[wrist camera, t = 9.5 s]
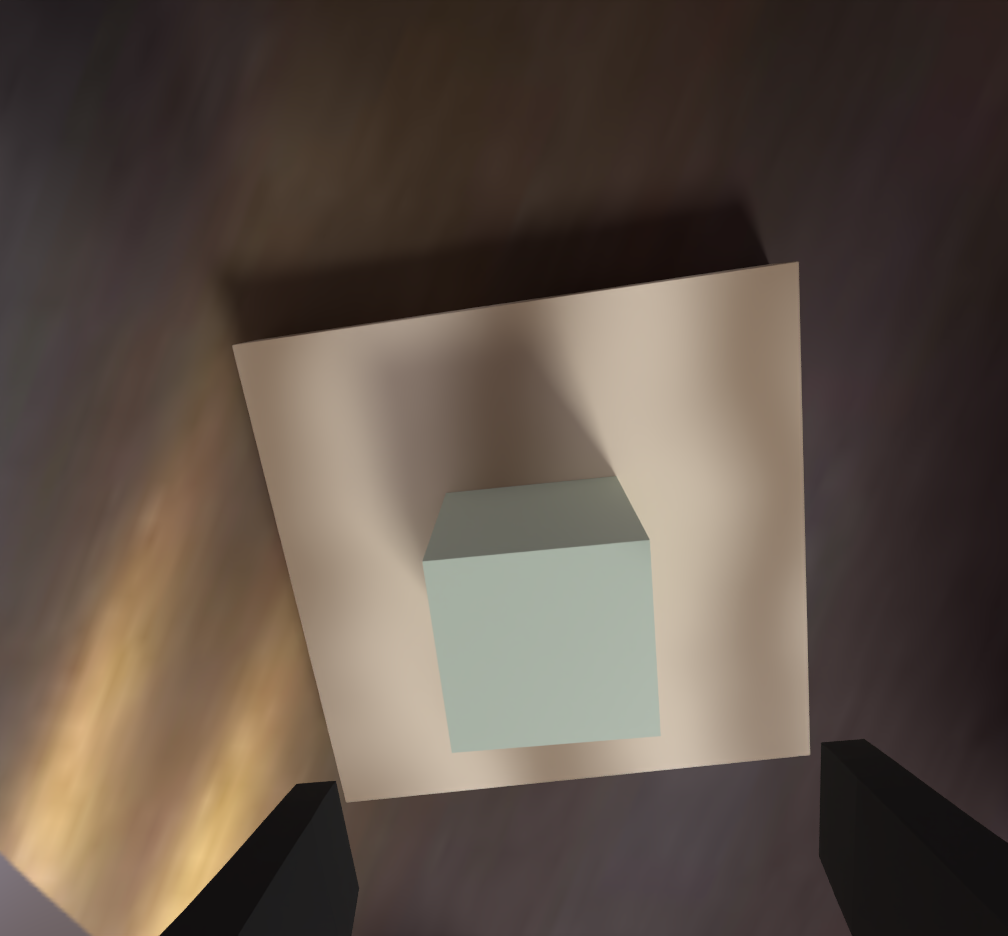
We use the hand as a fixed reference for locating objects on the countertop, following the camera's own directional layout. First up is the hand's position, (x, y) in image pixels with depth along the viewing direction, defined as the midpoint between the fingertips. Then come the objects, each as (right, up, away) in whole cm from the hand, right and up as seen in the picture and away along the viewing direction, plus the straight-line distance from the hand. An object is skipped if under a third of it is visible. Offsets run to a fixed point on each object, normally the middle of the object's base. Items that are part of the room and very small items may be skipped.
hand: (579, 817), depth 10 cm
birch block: (0, +3, +11) cm, 11 cm away
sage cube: (0, +3, +8) cm, 9 cm away
